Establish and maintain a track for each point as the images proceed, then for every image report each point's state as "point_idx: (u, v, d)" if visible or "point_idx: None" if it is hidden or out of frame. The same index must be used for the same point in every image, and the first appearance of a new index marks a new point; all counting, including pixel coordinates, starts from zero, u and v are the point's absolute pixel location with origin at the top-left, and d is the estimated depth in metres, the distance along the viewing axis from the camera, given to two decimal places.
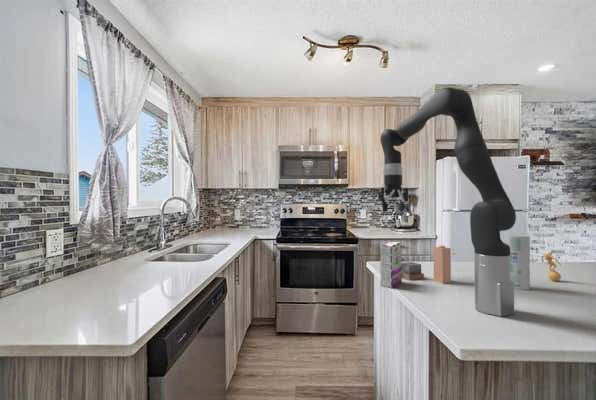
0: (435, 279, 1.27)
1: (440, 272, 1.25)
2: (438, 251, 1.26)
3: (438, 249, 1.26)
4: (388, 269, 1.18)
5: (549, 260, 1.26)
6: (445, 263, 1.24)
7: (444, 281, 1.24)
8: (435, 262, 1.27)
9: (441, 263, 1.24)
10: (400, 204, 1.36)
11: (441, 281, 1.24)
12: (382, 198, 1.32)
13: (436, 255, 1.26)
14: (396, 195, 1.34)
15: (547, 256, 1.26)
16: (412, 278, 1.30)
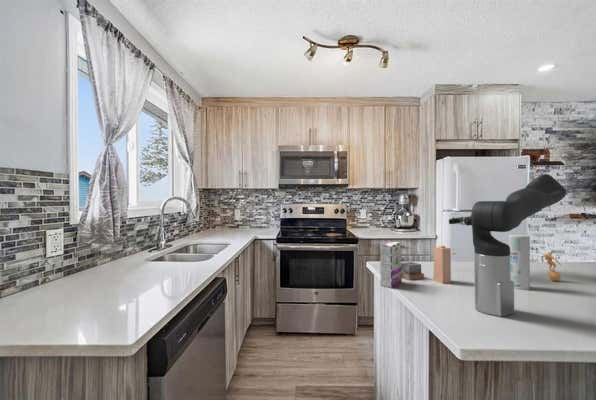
0: (435, 279, 1.27)
1: (440, 272, 1.25)
2: (438, 251, 1.26)
3: (438, 249, 1.26)
4: (388, 269, 1.18)
5: (549, 260, 1.26)
6: (445, 263, 1.24)
7: (444, 281, 1.24)
8: (435, 262, 1.27)
9: (441, 263, 1.24)
10: None
11: (441, 281, 1.24)
12: None
13: (436, 255, 1.26)
14: (470, 218, 1.34)
15: (547, 256, 1.26)
16: (412, 278, 1.30)
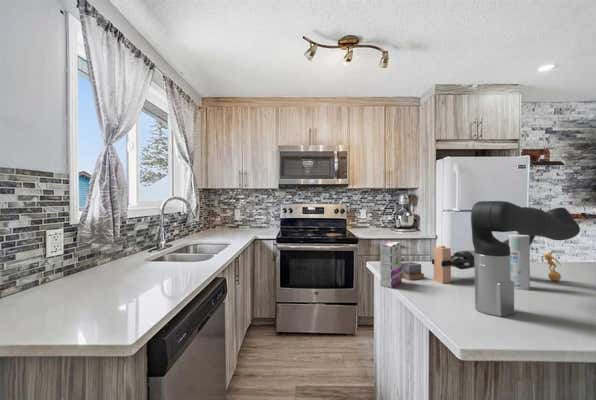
0: (435, 279, 1.27)
1: (440, 272, 1.25)
2: (438, 251, 1.26)
3: (438, 249, 1.26)
4: (388, 269, 1.18)
5: (549, 260, 1.26)
6: None
7: (444, 281, 1.24)
8: (435, 262, 1.27)
9: None
10: None
11: (441, 281, 1.24)
12: None
13: (437, 255, 1.26)
14: (452, 258, 1.29)
15: (547, 256, 1.26)
16: (412, 278, 1.30)
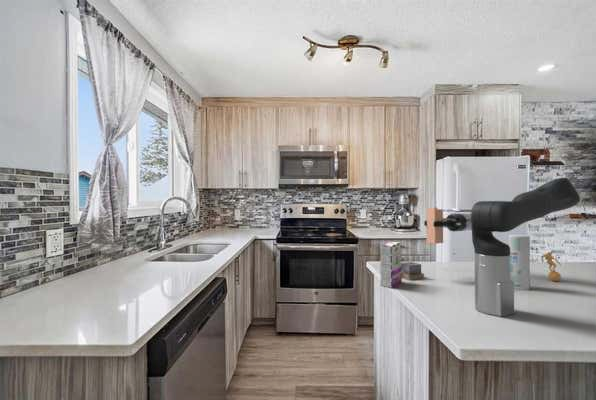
0: (428, 240, 1.29)
1: (432, 232, 1.27)
2: (430, 212, 1.28)
3: (430, 210, 1.28)
4: (388, 269, 1.18)
5: (549, 260, 1.26)
6: None
7: (436, 241, 1.26)
8: (428, 223, 1.29)
9: None
10: None
11: (433, 241, 1.26)
12: None
13: (429, 216, 1.28)
14: None
15: (547, 256, 1.26)
16: (412, 278, 1.30)
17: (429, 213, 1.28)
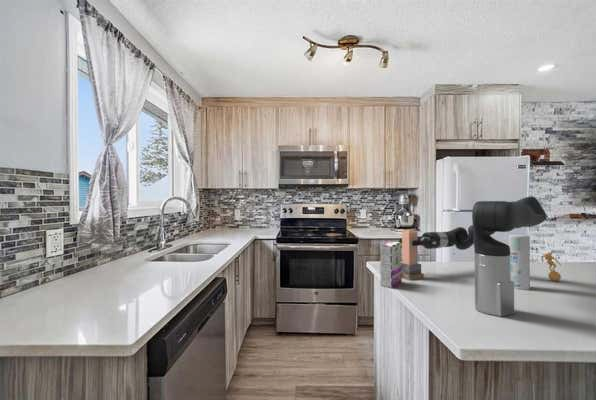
0: (403, 261, 1.35)
1: (407, 254, 1.32)
2: (405, 234, 1.33)
3: (405, 233, 1.33)
4: (388, 269, 1.18)
5: (549, 260, 1.26)
6: (412, 246, 1.32)
7: (411, 263, 1.32)
8: (403, 245, 1.35)
9: (408, 246, 1.32)
10: None
11: (408, 263, 1.32)
12: None
13: (404, 238, 1.34)
14: (420, 238, 1.36)
15: (547, 256, 1.26)
16: (412, 278, 1.30)
17: (404, 235, 1.34)
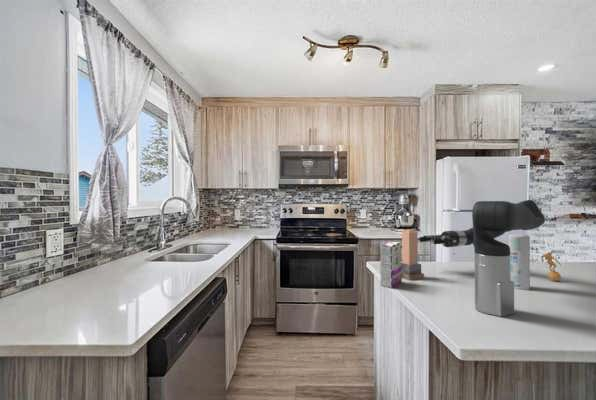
0: (403, 261, 1.35)
1: (407, 254, 1.32)
2: (405, 234, 1.33)
3: (405, 233, 1.33)
4: (388, 269, 1.18)
5: (549, 260, 1.26)
6: (412, 246, 1.32)
7: (411, 263, 1.32)
8: (403, 245, 1.35)
9: (408, 246, 1.32)
10: None
11: (408, 263, 1.32)
12: None
13: (404, 238, 1.34)
14: (440, 237, 1.40)
15: (547, 256, 1.26)
16: (412, 278, 1.30)
17: (404, 235, 1.34)
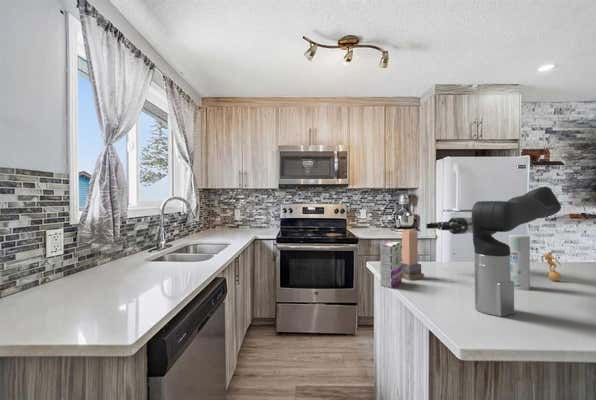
0: (403, 261, 1.35)
1: (407, 254, 1.32)
2: (405, 234, 1.33)
3: (405, 233, 1.33)
4: (388, 269, 1.18)
5: (549, 260, 1.26)
6: (412, 246, 1.32)
7: (411, 263, 1.32)
8: (403, 245, 1.35)
9: (408, 246, 1.32)
10: None
11: (408, 263, 1.32)
12: None
13: (404, 238, 1.34)
14: (447, 224, 1.36)
15: (547, 256, 1.26)
16: (412, 278, 1.30)
17: (404, 235, 1.34)
